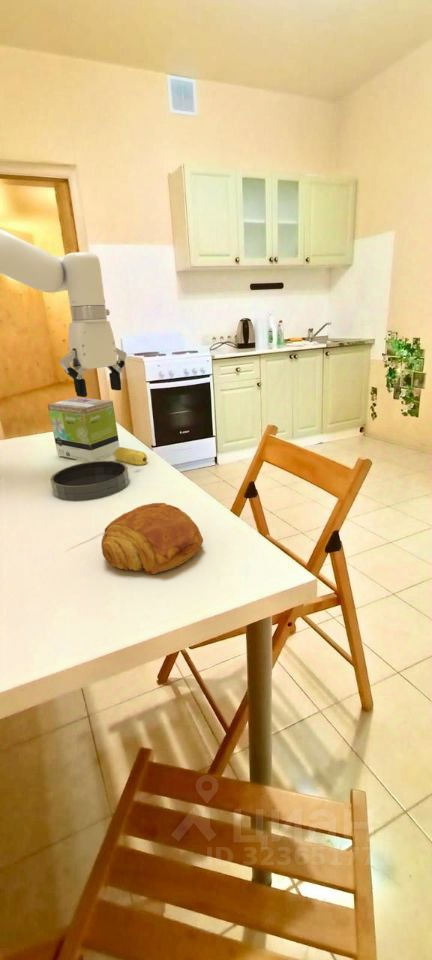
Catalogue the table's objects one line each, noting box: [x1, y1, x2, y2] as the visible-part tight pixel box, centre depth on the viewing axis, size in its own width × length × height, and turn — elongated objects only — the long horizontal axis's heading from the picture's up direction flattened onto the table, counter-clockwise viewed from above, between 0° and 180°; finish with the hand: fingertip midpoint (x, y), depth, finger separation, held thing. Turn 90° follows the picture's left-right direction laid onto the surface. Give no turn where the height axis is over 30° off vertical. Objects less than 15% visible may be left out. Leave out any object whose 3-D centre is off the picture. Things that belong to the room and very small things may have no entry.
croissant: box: [101, 502, 204, 575], centre depth 68 cm, size 14×16×8 cm
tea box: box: [47, 396, 120, 463], centre depth 119 cm, size 15×10×15 cm
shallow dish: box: [49, 460, 131, 502], centre depth 97 cm, size 16×16×4 cm
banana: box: [113, 446, 148, 466], centre depth 112 cm, size 11×4×4 cm, turn 50°
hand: (99, 393), depth 105 cm, fingers open, 9 cm apart
